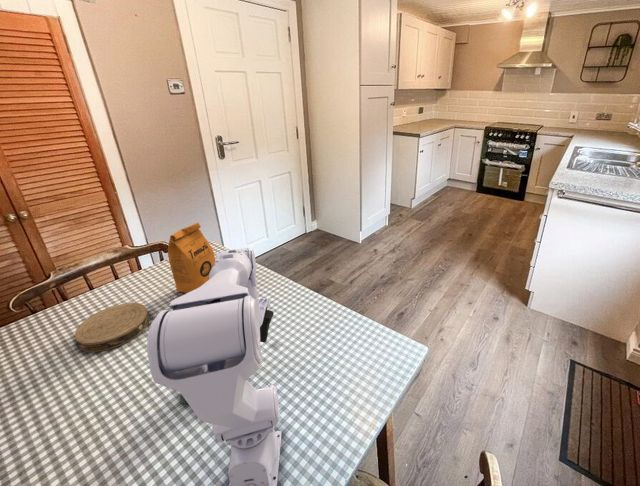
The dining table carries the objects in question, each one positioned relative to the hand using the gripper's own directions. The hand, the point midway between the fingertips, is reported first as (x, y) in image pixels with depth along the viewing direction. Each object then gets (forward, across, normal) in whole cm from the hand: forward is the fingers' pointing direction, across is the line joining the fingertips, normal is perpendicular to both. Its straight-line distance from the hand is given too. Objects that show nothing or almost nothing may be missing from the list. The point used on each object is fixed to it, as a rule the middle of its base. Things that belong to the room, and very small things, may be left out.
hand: (252, 354), depth 65 cm
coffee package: (+12, -31, -41) cm, 53 cm away
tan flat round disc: (+11, -8, -49) cm, 51 cm away
